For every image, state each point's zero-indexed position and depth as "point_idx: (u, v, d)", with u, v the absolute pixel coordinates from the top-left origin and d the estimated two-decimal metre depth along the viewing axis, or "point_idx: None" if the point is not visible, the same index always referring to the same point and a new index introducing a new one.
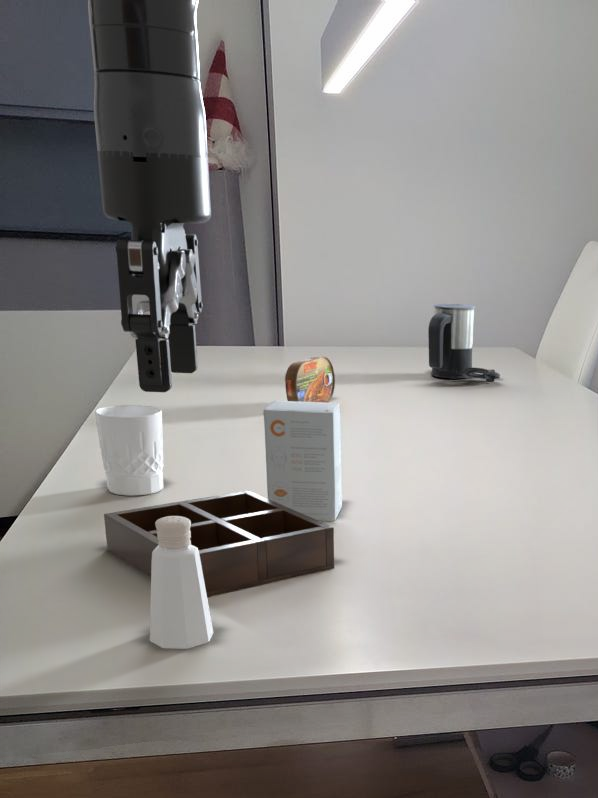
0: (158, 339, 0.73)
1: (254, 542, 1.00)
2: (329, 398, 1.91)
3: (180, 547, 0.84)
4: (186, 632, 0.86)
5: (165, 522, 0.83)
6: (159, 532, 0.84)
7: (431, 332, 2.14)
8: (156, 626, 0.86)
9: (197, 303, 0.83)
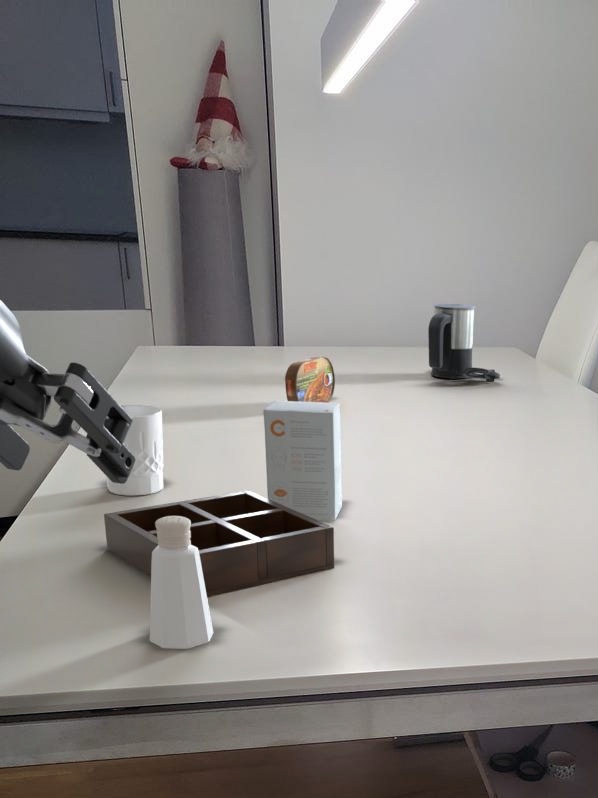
0: None
1: (254, 542, 1.00)
2: (329, 398, 1.91)
3: (180, 547, 0.84)
4: (186, 632, 0.86)
5: (165, 522, 0.83)
6: (159, 532, 0.84)
7: (431, 332, 2.14)
8: (156, 626, 0.86)
9: (100, 444, 0.65)
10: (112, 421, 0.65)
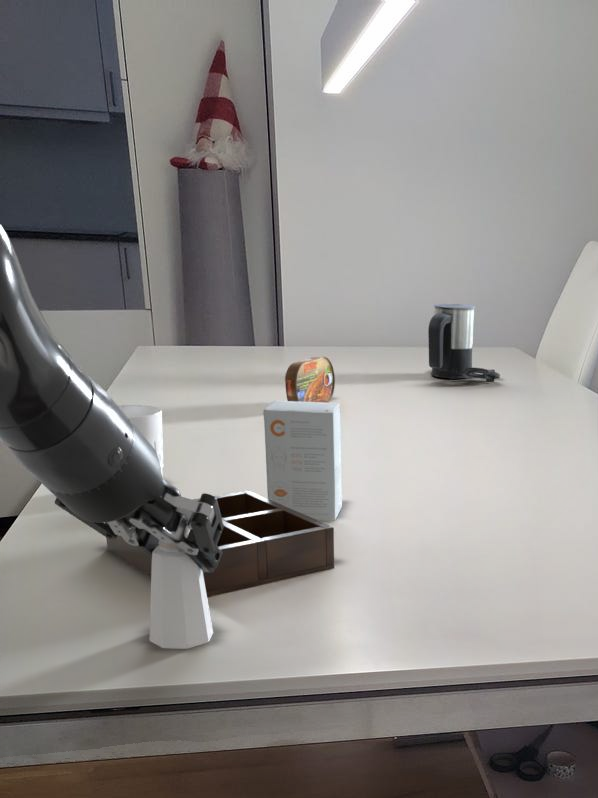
0: None
1: (254, 542, 1.00)
2: (329, 398, 1.91)
3: None
4: (186, 632, 0.86)
5: None
6: None
7: (431, 332, 2.14)
8: (156, 625, 0.86)
9: (198, 547, 0.81)
10: None
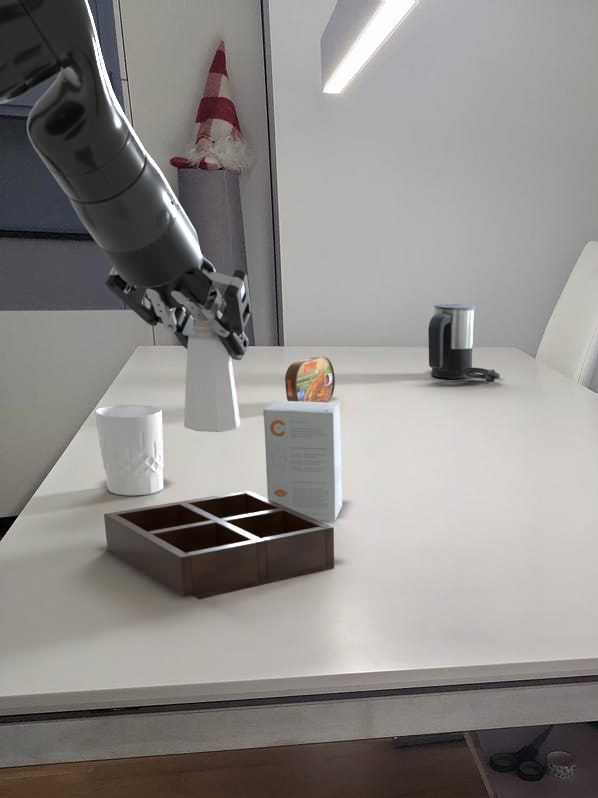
0: None
1: (254, 542, 1.00)
2: (329, 398, 1.91)
3: (213, 333, 0.96)
4: (217, 410, 0.98)
5: None
6: (195, 318, 0.96)
7: (431, 332, 2.14)
8: (190, 405, 0.98)
9: (229, 327, 0.93)
10: None
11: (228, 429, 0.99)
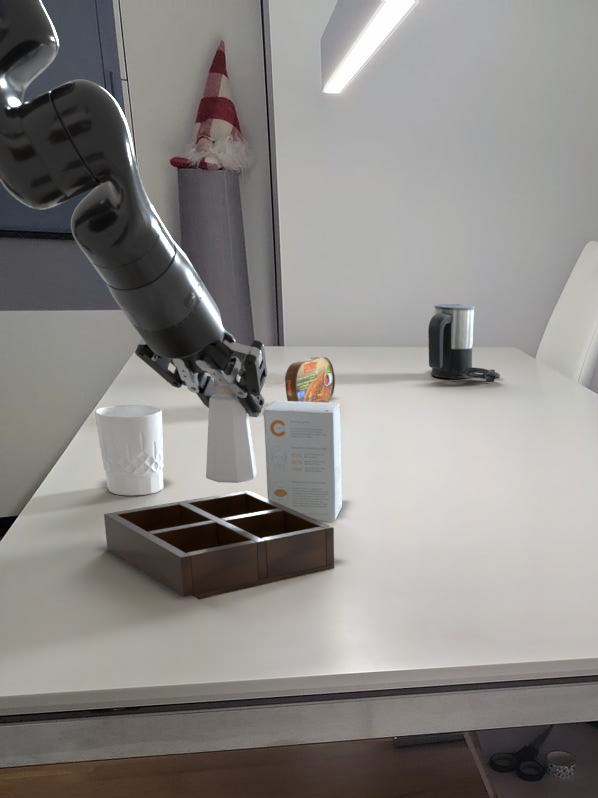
0: None
1: (254, 542, 1.00)
2: (329, 398, 1.91)
3: (232, 394, 1.06)
4: (236, 463, 1.07)
5: None
6: (215, 381, 1.05)
7: (431, 332, 2.14)
8: (212, 459, 1.08)
9: (247, 389, 1.03)
10: None
11: (246, 479, 1.09)
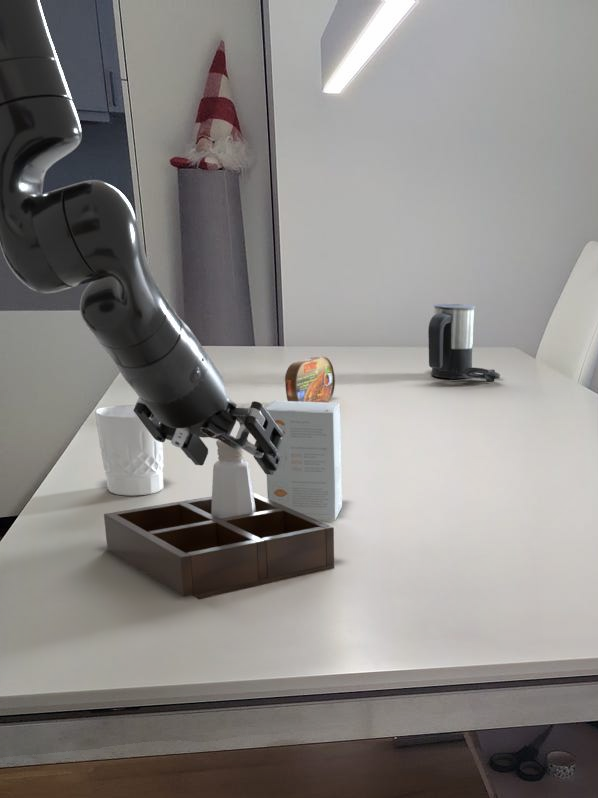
0: None
1: (254, 542, 1.00)
2: (329, 398, 1.91)
3: (235, 461, 1.08)
4: None
5: None
6: (219, 448, 1.08)
7: (431, 332, 2.14)
8: None
9: (264, 450, 1.04)
10: (272, 436, 1.04)
11: None
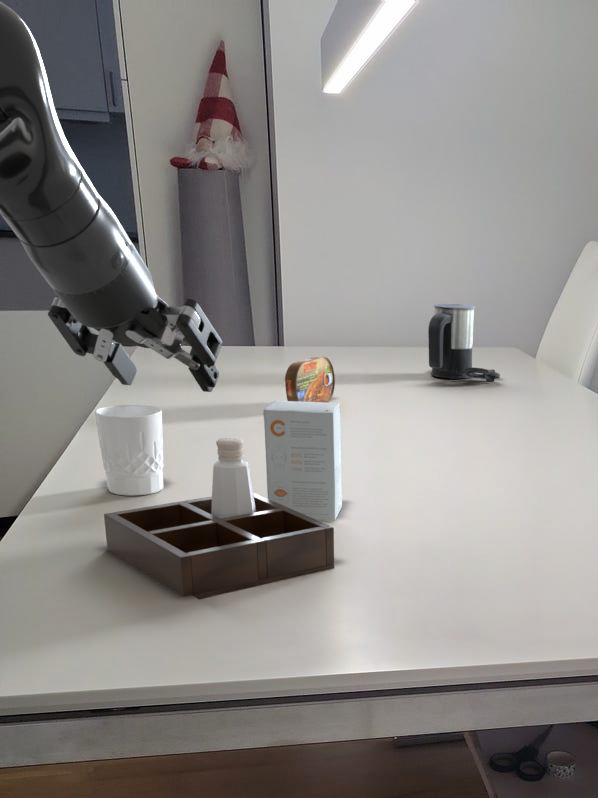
0: None
1: (254, 542, 1.00)
2: (329, 398, 1.91)
3: (235, 461, 1.08)
4: None
5: (224, 441, 1.08)
6: (219, 448, 1.08)
7: (431, 332, 2.14)
8: None
9: (201, 359, 0.92)
10: (209, 343, 0.92)
11: None
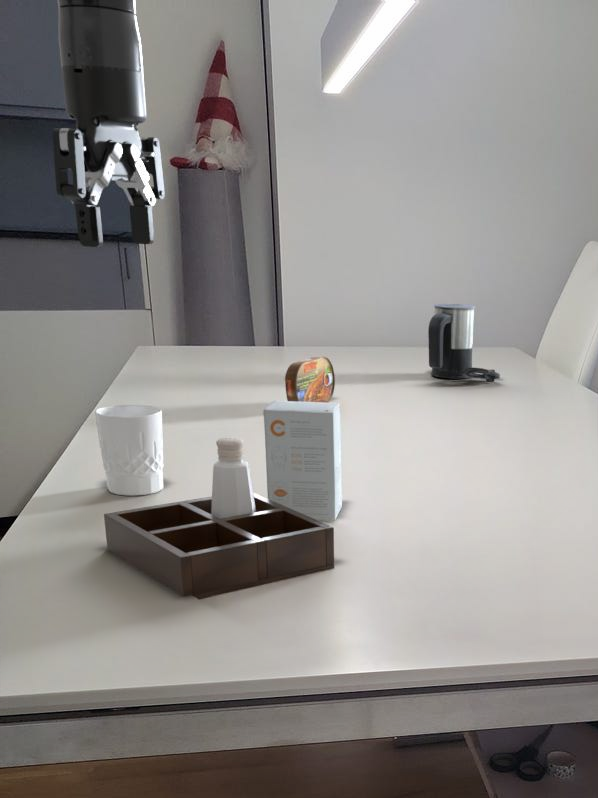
0: (87, 205, 1.00)
1: (254, 542, 1.00)
2: (329, 398, 1.91)
3: (235, 461, 1.08)
4: None
5: (224, 441, 1.08)
6: (219, 448, 1.08)
7: (431, 332, 2.14)
8: None
9: (157, 191, 1.09)
10: None
11: None
